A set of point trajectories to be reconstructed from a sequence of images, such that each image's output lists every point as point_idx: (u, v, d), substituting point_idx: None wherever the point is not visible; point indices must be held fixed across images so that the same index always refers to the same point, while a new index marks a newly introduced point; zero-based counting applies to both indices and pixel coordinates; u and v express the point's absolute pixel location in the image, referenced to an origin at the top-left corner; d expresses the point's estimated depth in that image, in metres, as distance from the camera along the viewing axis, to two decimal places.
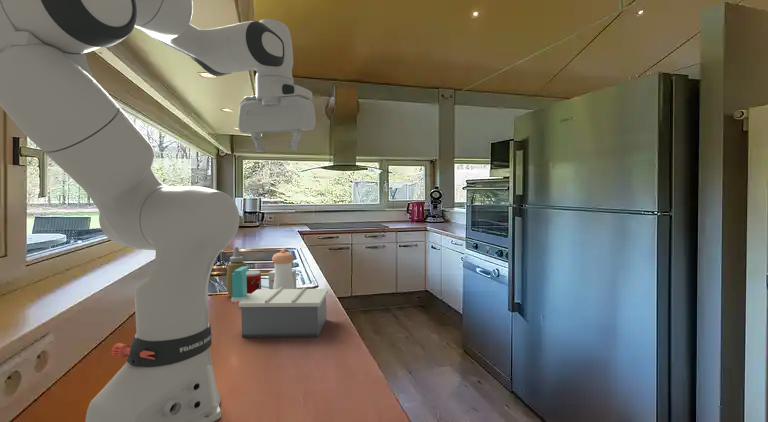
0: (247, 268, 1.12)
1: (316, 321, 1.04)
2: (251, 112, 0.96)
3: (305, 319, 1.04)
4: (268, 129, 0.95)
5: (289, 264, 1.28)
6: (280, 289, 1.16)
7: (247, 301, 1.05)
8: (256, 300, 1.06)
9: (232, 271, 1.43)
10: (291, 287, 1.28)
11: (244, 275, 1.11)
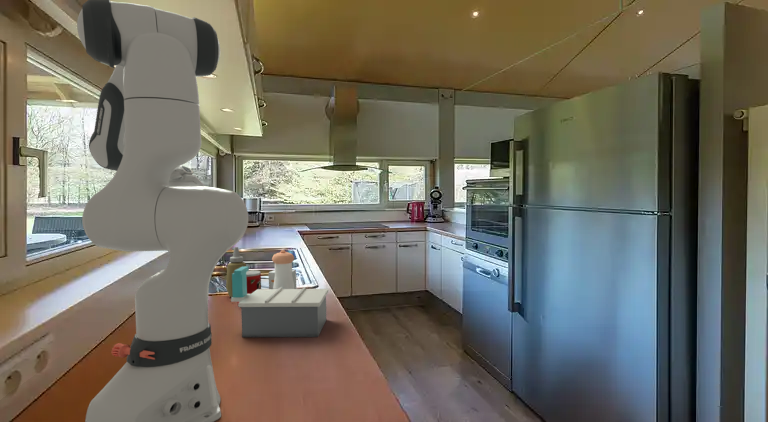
0: (247, 268, 1.12)
1: (316, 321, 1.04)
2: None
3: (305, 319, 1.04)
4: None
5: (289, 264, 1.28)
6: (280, 289, 1.16)
7: (247, 301, 1.05)
8: (256, 300, 1.06)
9: (232, 271, 1.43)
10: (291, 287, 1.28)
11: (244, 275, 1.11)
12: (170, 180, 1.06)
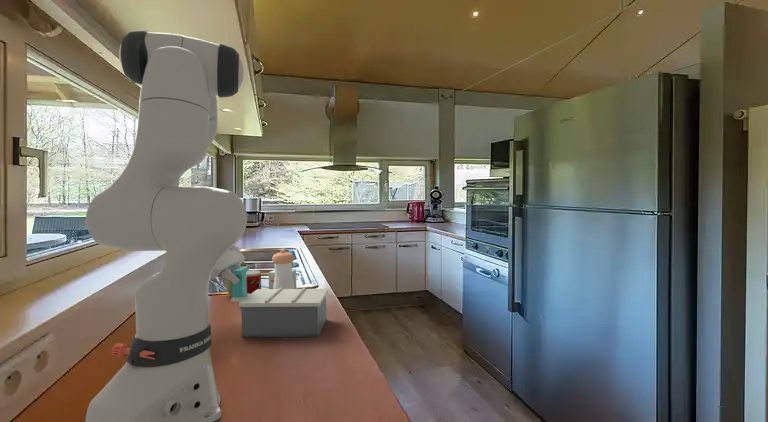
0: (247, 268, 1.12)
1: (316, 321, 1.04)
2: None
3: (305, 319, 1.04)
4: (231, 264, 1.09)
5: (289, 264, 1.28)
6: (280, 289, 1.16)
7: (247, 301, 1.05)
8: (256, 300, 1.06)
9: (232, 271, 1.43)
10: (291, 287, 1.28)
11: (244, 275, 1.11)
12: None
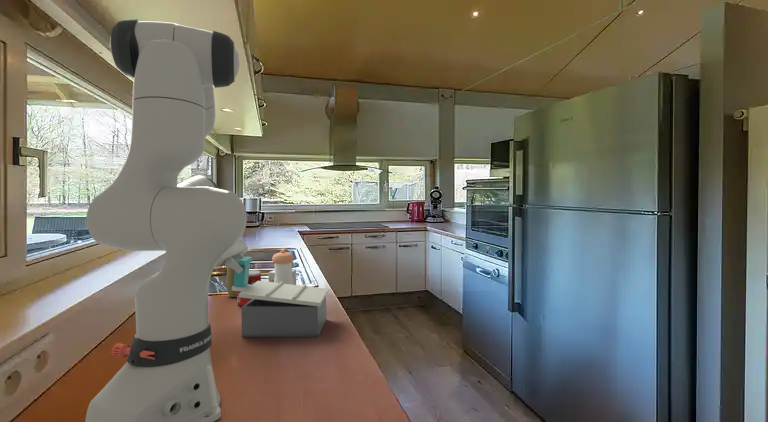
0: (251, 259, 1.12)
1: (316, 321, 1.04)
2: None
3: (305, 319, 1.04)
4: (235, 253, 1.09)
5: (289, 264, 1.28)
6: (281, 283, 1.16)
7: (248, 292, 1.05)
8: (257, 292, 1.06)
9: (232, 271, 1.43)
10: None
11: (247, 265, 1.10)
12: None
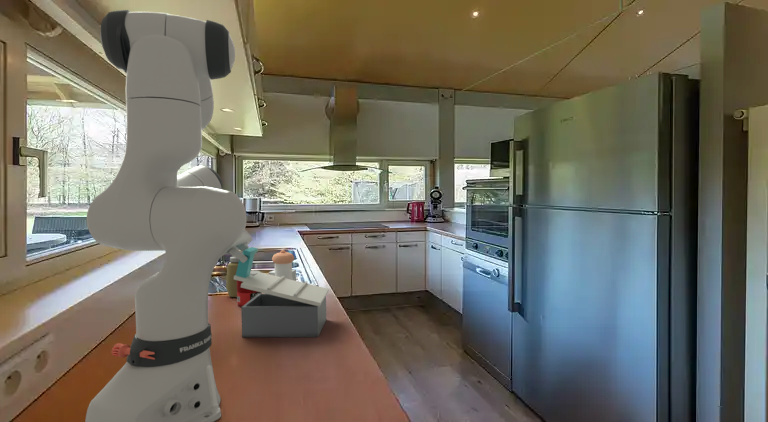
0: (256, 250, 1.12)
1: (316, 321, 1.04)
2: None
3: (305, 319, 1.04)
4: (239, 242, 1.09)
5: (289, 264, 1.28)
6: (282, 278, 1.16)
7: (250, 283, 1.05)
8: (258, 284, 1.06)
9: (232, 271, 1.43)
10: None
11: (252, 256, 1.10)
12: None
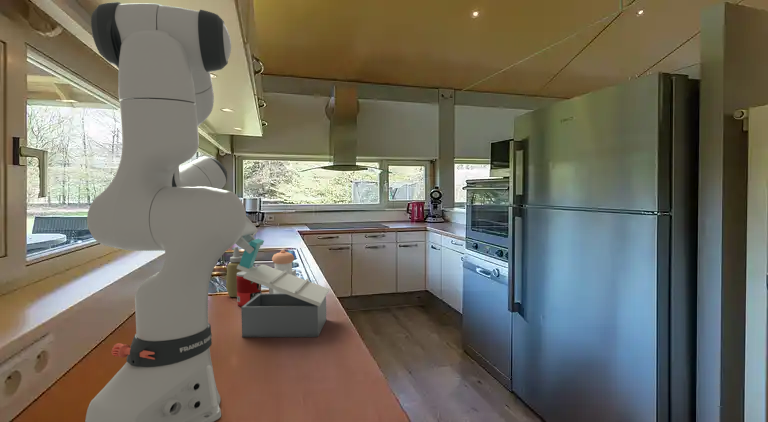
0: (262, 242, 1.12)
1: (316, 321, 1.04)
2: None
3: (305, 319, 1.04)
4: (245, 233, 1.09)
5: (289, 264, 1.28)
6: (284, 273, 1.16)
7: (253, 275, 1.05)
8: (261, 277, 1.05)
9: (232, 271, 1.43)
10: None
11: (257, 248, 1.10)
12: None
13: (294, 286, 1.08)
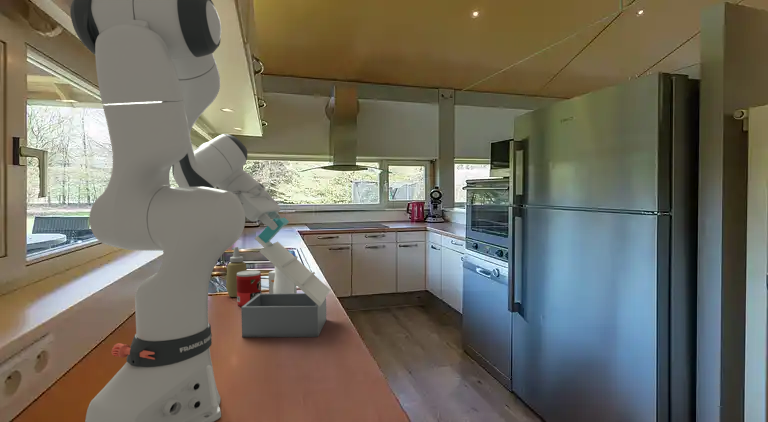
0: (287, 223, 1.12)
1: (316, 321, 1.04)
2: (252, 199, 1.04)
3: (305, 319, 1.04)
4: (270, 210, 1.08)
5: None
6: (295, 258, 1.16)
7: (268, 252, 1.04)
8: (275, 257, 1.05)
9: (232, 271, 1.43)
10: (291, 287, 1.28)
11: (281, 227, 1.10)
12: (253, 196, 1.06)
13: (301, 277, 1.08)
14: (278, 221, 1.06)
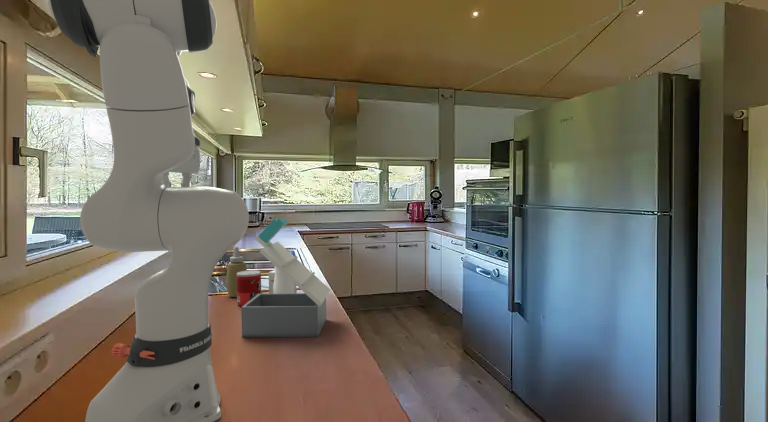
0: (287, 223, 1.12)
1: (316, 321, 1.04)
2: None
3: (305, 319, 1.04)
4: (180, 170, 1.06)
5: None
6: (295, 258, 1.16)
7: (268, 252, 1.04)
8: (275, 257, 1.05)
9: (232, 271, 1.43)
10: (291, 287, 1.28)
11: (281, 227, 1.10)
12: None
13: (301, 277, 1.08)
14: (278, 221, 1.06)
